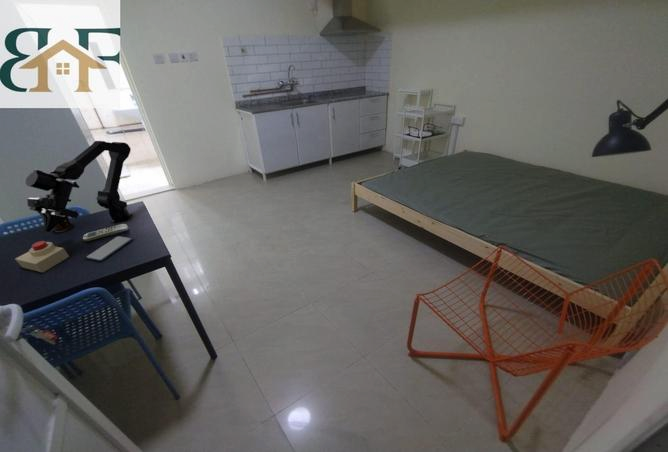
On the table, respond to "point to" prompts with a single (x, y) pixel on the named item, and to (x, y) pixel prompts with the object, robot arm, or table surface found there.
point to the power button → (39, 245)
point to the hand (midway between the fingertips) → (47, 231)
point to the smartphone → (109, 248)
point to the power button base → (42, 258)
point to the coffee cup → (62, 225)
